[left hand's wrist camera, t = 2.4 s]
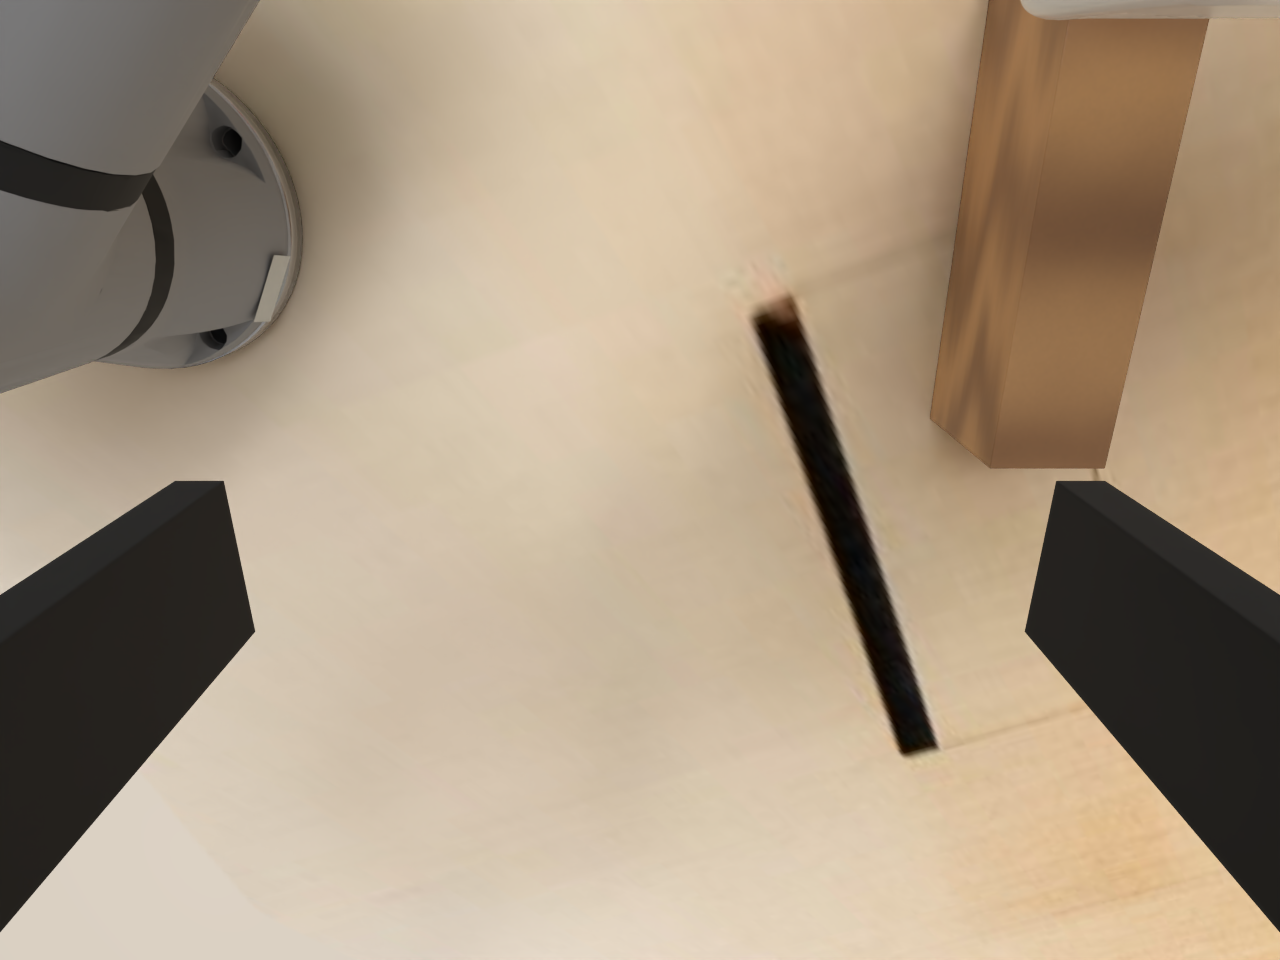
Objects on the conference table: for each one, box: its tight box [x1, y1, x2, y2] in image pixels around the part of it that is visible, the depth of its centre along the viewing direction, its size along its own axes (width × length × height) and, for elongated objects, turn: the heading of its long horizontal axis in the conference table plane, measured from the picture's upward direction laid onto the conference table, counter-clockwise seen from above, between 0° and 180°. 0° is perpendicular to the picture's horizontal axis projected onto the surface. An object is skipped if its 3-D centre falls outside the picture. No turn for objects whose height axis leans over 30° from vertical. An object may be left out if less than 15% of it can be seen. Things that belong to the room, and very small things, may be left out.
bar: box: [930, 0, 1209, 468], centre depth 36 cm, size 22×5×8 cm, turn 0°
